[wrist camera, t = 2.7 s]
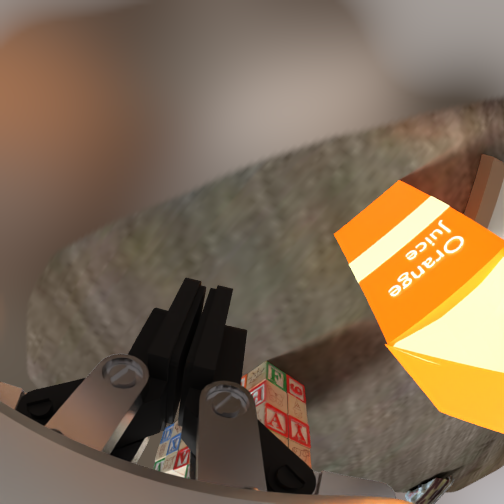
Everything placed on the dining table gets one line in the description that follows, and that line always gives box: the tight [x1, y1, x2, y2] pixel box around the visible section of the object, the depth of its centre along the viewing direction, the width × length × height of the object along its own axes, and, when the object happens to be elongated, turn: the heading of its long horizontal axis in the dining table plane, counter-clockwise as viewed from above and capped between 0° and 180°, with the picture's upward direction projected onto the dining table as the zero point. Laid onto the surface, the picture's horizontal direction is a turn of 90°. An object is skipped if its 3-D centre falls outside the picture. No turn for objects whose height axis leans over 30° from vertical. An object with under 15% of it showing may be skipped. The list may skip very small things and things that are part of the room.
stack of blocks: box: [153, 361, 311, 479], centre depth 31 cm, size 21×6×12 cm, turn 138°
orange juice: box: [334, 180, 504, 433], centre depth 17 cm, size 8×9×20 cm
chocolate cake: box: [405, 476, 454, 504], centre depth 46 cm, size 10×7×12 cm
